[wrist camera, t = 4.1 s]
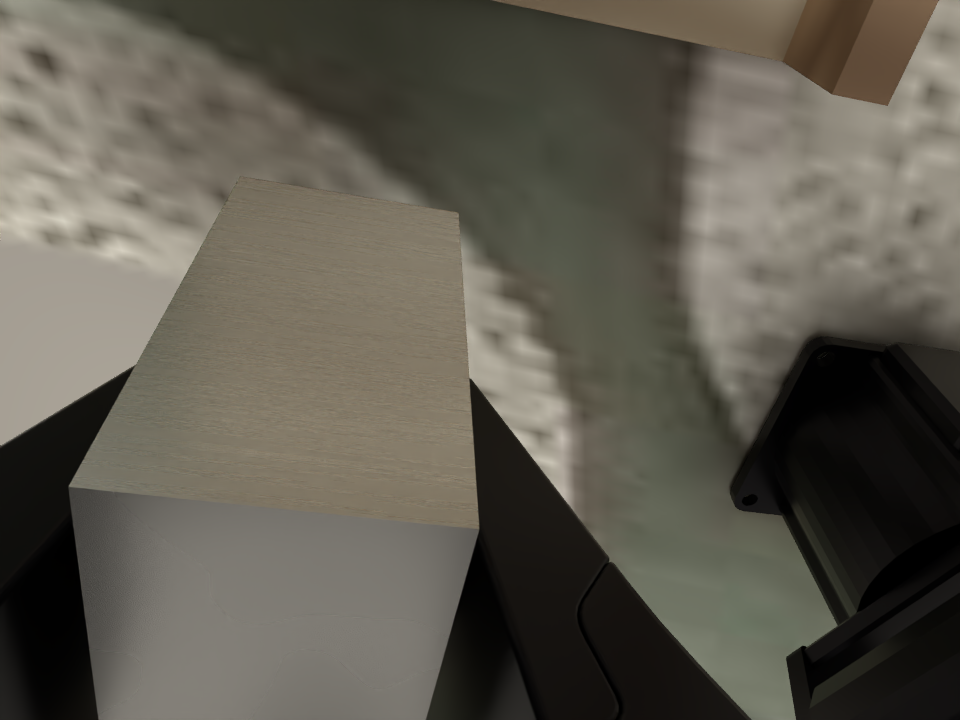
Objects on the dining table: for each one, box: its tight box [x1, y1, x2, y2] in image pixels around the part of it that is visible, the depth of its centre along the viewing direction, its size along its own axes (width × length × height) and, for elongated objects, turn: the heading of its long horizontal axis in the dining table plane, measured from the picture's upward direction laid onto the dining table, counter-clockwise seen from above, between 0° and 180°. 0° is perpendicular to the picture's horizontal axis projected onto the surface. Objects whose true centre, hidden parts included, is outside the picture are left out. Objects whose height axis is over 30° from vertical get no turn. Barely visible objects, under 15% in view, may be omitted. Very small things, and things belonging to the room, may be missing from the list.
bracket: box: [0, 177, 479, 720], centre depth 8 cm, size 7×7×5 cm
